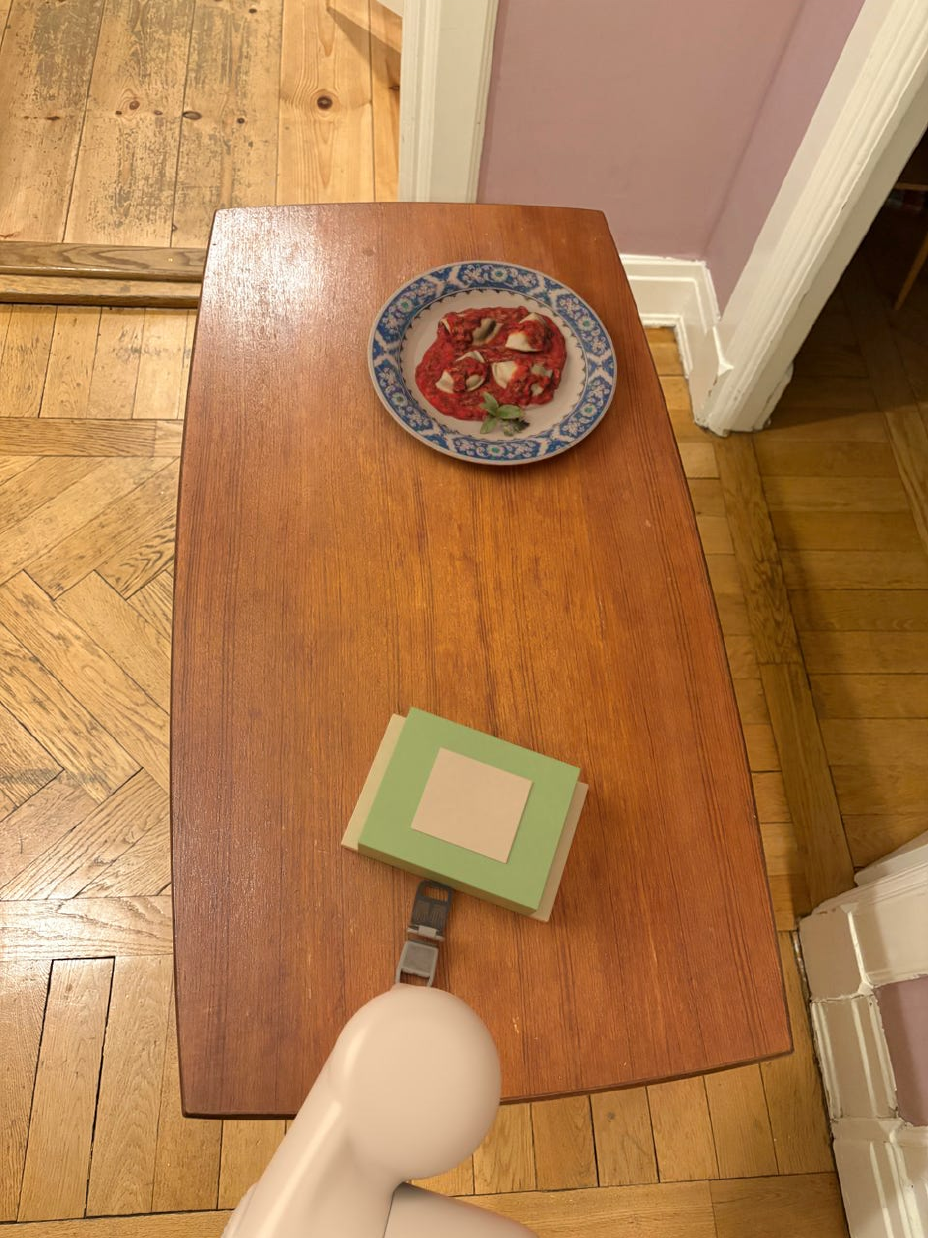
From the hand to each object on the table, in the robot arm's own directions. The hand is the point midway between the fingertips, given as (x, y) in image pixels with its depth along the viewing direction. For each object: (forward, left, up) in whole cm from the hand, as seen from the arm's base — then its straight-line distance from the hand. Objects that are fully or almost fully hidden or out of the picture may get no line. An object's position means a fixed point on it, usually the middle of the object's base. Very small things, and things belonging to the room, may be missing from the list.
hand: (391, 1074), depth 67 cm
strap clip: (+10, +1, -6) cm, 12 cm away
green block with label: (+20, +1, -6) cm, 21 cm away
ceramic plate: (+65, +14, -6) cm, 67 cm away
